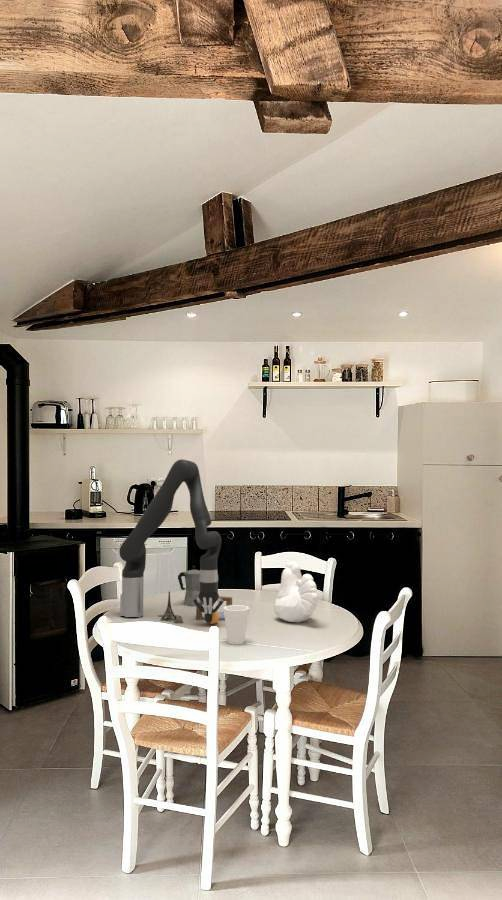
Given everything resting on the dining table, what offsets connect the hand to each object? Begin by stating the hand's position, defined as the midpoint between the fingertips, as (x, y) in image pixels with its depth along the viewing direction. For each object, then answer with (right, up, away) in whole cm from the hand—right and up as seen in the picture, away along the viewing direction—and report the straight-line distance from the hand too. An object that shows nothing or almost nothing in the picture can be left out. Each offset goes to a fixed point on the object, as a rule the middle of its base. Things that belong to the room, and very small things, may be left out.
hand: (208, 622), depth 295 cm
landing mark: (+3, -2, +19) cm, 19 cm away
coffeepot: (-10, -2, +40) cm, 42 cm away
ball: (+1, +1, +4) cm, 4 cm away
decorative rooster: (+37, -2, +8) cm, 38 cm away
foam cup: (+12, -2, -23) cm, 26 cm away
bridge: (+2, -2, +11) cm, 11 cm away
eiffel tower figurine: (-17, -2, +11) cm, 21 cm away
